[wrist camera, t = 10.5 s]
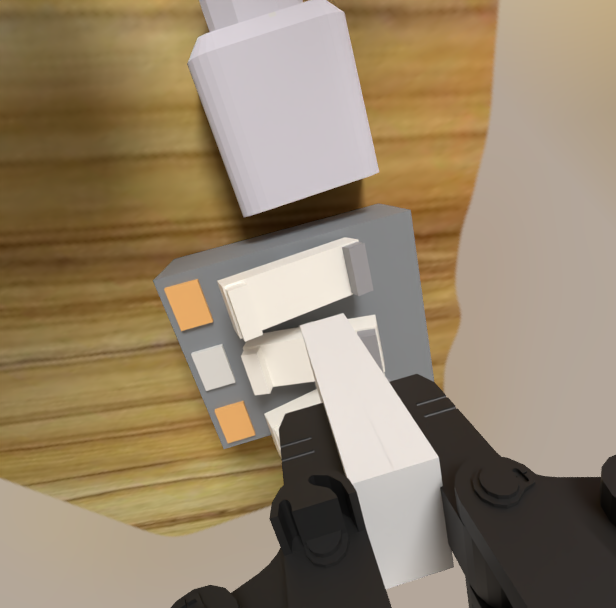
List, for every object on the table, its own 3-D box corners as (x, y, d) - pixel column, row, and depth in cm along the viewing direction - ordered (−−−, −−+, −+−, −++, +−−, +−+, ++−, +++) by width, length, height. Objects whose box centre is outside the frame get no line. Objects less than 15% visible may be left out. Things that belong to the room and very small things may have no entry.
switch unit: (226, 401, 31) (218, 458, 25) (170, 260, 27) (144, 286, 20) (403, 349, 32) (440, 391, 26) (378, 203, 27) (415, 211, 21)
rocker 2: (263, 374, 24) (253, 397, 22) (250, 335, 23) (238, 354, 21) (383, 357, 22) (386, 379, 20) (375, 314, 21) (377, 333, 19)
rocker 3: (276, 450, 24) (289, 474, 21) (264, 413, 22) (275, 435, 20) (378, 398, 26) (398, 415, 24) (371, 363, 25) (391, 378, 23)
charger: (302, -81, 21) (362, 173, 27) (155, -35, 21) (245, 212, 27) (314, -149, 17) (383, 172, 22) (129, -92, 17) (243, 219, 22)
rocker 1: (234, 329, 20) (243, 344, 18) (216, 280, 19) (224, 290, 17) (354, 283, 23) (375, 291, 21) (344, 237, 22) (365, 240, 20)
